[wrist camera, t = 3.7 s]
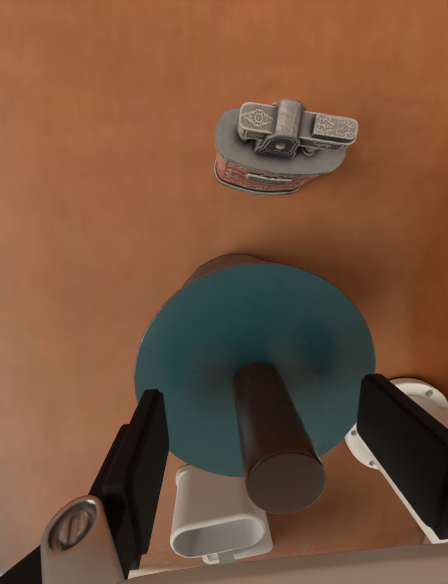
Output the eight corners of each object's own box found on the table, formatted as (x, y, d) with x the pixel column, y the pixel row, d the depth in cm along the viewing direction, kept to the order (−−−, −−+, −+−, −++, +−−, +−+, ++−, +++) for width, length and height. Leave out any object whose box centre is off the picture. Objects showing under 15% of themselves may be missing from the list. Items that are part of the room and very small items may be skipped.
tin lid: (373, 254, 12) (539, 272, 6) (351, 451, 15) (444, 596, 9) (125, 266, 11) (26, 300, 5) (154, 466, 14) (113, 630, 8)
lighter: (212, 188, 21) (211, 146, 11) (216, 147, 20) (218, 64, 10) (297, 200, 21) (367, 169, 12) (304, 160, 21) (385, 92, 11)
